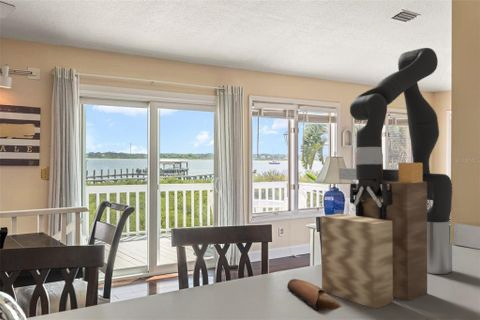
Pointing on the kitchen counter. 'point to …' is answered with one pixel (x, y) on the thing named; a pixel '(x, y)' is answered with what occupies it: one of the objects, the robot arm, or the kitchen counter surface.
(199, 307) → the kitchen counter surface
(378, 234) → the beige slab
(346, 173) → the steel pin
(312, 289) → the sunglasses case
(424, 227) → the walnut stand
